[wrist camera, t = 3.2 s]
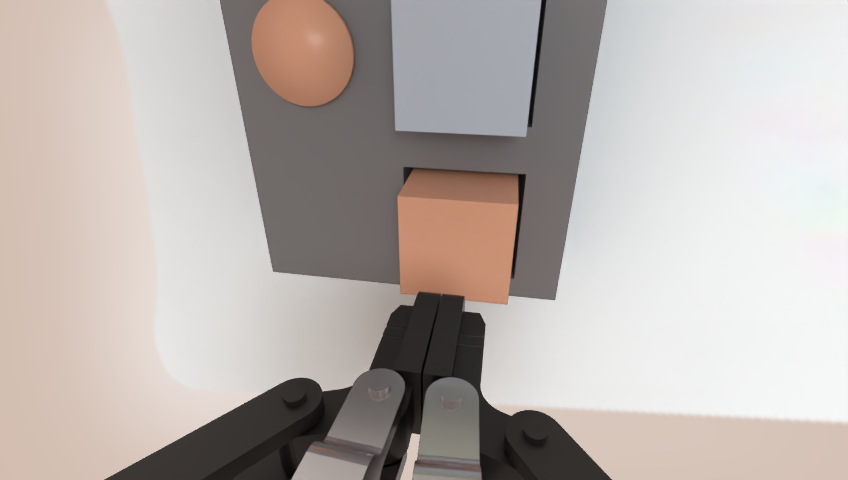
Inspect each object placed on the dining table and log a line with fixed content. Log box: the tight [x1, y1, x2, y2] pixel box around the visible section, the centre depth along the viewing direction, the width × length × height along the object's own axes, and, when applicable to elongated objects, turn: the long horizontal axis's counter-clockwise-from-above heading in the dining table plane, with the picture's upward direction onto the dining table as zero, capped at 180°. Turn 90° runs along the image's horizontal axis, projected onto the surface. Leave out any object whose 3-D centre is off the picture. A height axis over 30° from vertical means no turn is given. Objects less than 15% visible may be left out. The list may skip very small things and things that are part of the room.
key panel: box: [220, 0, 607, 300], centre depth 18 cm, size 21×14×4 cm, turn 0°
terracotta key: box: [397, 168, 519, 305], centre depth 19 cm, size 4×4×3 cm
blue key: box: [391, 0, 541, 137], centre depth 16 cm, size 4×4×3 cm
